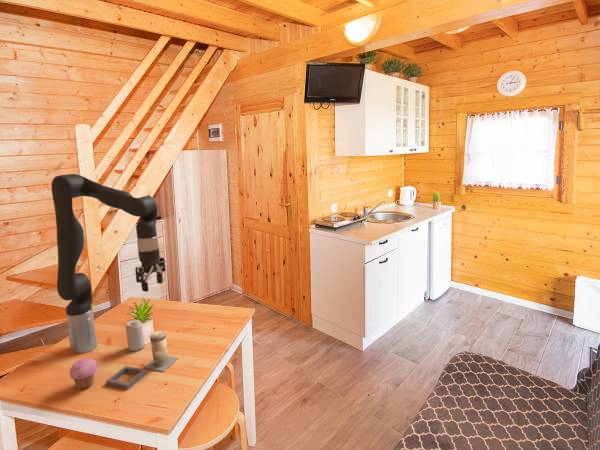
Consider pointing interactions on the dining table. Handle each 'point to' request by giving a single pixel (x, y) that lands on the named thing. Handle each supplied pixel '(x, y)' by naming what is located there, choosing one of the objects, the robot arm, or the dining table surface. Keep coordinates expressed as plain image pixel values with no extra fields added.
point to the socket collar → (112, 380)
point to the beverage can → (135, 335)
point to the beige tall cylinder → (159, 348)
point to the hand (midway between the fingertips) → (153, 287)
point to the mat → (161, 368)
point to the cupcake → (83, 372)
